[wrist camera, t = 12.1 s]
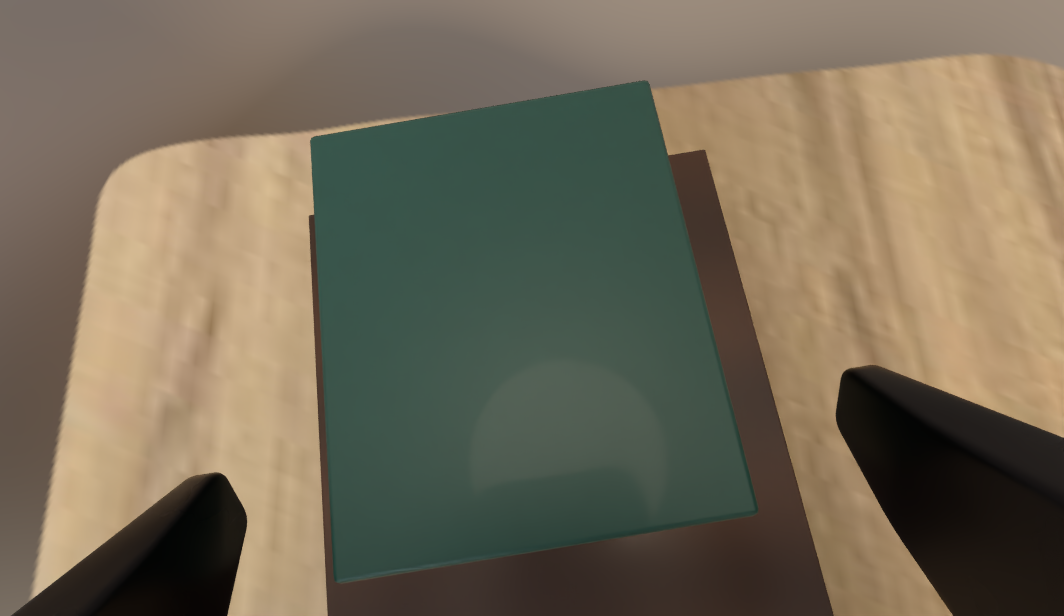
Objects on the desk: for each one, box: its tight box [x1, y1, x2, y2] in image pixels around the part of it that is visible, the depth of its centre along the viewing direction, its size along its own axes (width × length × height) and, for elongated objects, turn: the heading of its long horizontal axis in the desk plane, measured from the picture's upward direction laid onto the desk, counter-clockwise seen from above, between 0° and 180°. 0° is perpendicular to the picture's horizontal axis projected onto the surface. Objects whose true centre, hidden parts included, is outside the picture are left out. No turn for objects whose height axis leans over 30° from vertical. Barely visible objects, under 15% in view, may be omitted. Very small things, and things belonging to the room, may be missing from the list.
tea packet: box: [310, 81, 759, 584], centre depth 12 cm, size 5×6×10 cm
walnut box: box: [309, 150, 834, 616], centre depth 19 cm, size 15×14×4 cm
